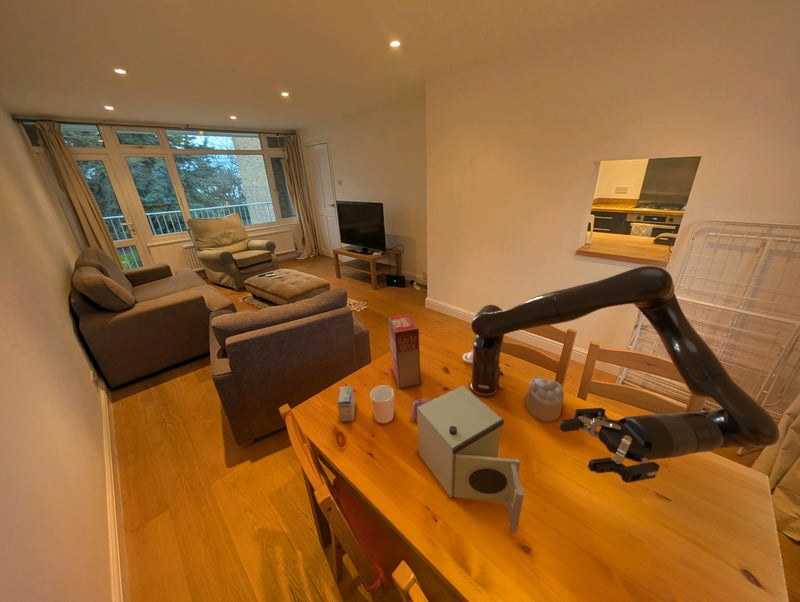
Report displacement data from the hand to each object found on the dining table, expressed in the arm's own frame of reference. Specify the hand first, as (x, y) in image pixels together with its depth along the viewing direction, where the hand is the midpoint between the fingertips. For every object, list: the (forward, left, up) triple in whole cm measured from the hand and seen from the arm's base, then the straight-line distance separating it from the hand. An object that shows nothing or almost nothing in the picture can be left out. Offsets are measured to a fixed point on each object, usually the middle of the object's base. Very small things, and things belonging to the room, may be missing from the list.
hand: (574, 444), depth 55 cm
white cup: (+16, -51, -28) cm, 61 cm away
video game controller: (+4, -43, -28) cm, 52 cm away
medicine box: (+26, -59, -28) cm, 71 cm away
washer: (+6, -25, -28) cm, 38 cm away
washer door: (+10, -10, -27) cm, 30 cm away
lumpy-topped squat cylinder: (-32, -25, -28) cm, 49 cm away
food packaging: (-1, -65, -28) cm, 71 cm away
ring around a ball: (-30, -58, -28) cm, 71 cm away
